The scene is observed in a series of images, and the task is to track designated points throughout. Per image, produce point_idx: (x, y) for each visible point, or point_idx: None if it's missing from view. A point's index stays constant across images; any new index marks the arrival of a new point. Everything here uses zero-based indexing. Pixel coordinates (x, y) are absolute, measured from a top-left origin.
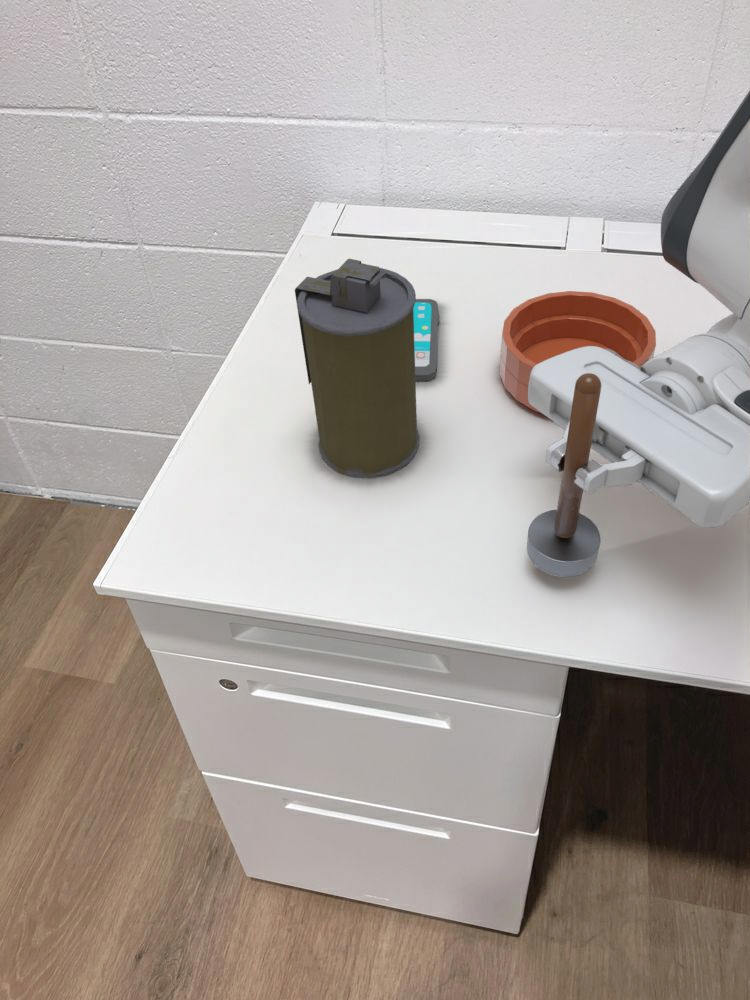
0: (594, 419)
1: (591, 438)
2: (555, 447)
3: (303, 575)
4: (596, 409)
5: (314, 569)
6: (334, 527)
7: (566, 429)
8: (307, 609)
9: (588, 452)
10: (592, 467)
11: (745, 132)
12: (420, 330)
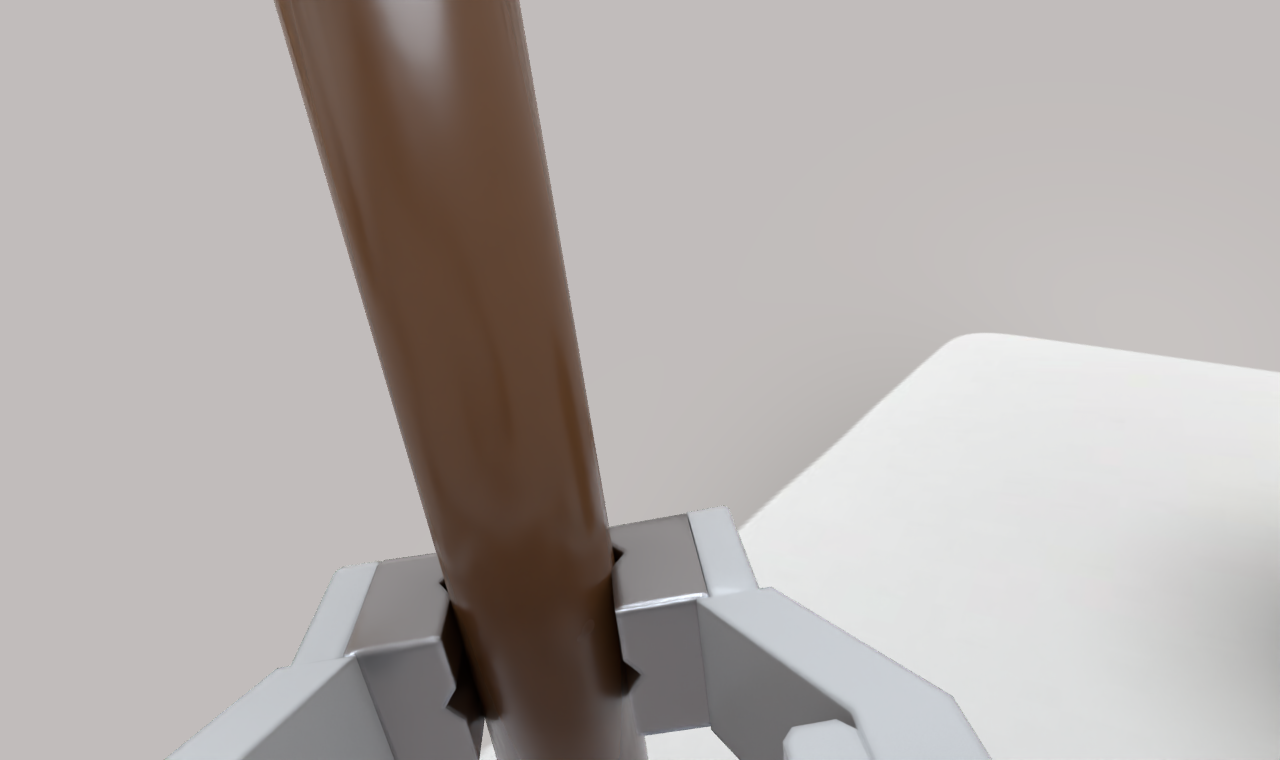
0: (323, 168)
1: (386, 381)
2: (696, 520)
3: (903, 478)
4: (289, 47)
5: (915, 493)
6: (1050, 541)
7: (835, 628)
8: (814, 471)
9: (420, 498)
10: (392, 600)
11: None
12: None
